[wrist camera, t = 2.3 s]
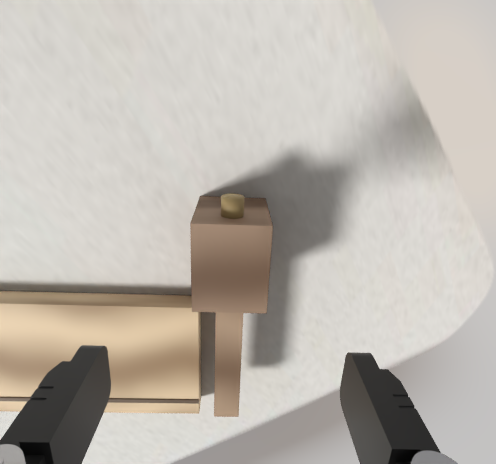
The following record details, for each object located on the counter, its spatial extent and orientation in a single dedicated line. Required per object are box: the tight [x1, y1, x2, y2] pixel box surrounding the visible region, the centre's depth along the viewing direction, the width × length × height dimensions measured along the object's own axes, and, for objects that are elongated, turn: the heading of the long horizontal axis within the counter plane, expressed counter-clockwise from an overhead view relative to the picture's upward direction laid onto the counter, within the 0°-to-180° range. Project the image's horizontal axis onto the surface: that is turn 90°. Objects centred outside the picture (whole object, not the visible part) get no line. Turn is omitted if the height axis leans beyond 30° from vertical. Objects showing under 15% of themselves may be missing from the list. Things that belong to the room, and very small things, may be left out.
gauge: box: [191, 194, 273, 417], centre depth 22 cm, size 15×4×5 cm, turn 177°
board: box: [0, 291, 201, 413], centre depth 25 cm, size 9×20×2 cm, turn 87°
